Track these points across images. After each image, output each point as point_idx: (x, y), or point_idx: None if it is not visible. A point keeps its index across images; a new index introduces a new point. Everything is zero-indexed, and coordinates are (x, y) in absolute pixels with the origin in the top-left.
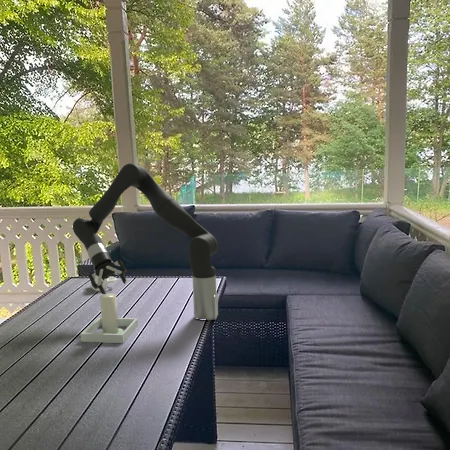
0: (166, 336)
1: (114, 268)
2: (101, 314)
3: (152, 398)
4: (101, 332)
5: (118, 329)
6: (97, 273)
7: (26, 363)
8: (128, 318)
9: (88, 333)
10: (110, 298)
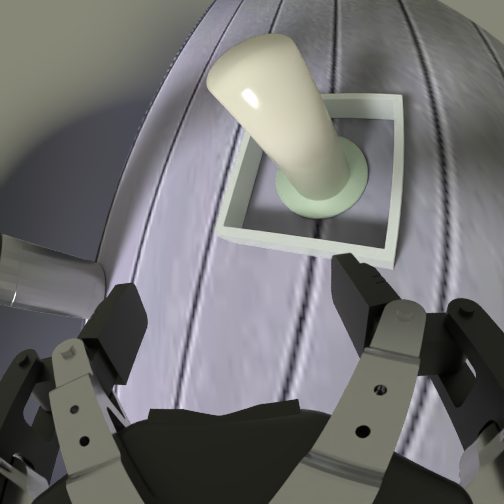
0: (168, 168)
1: (56, 414)
2: (327, 110)
3: (217, 20)
4: (356, 171)
5: (296, 199)
6: (436, 496)
7: (461, 36)
8: (248, 236)
9: (373, 95)
10: (234, 49)
